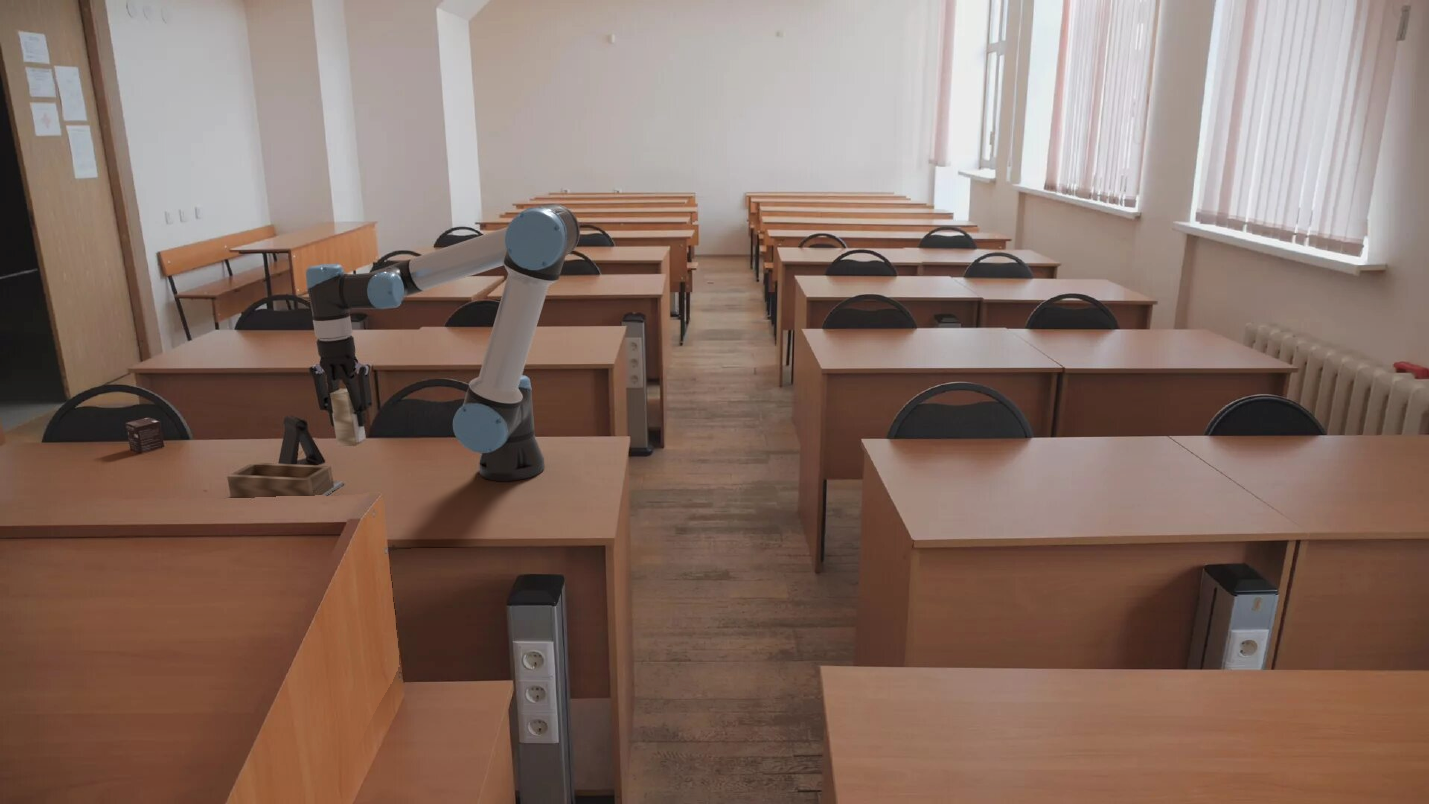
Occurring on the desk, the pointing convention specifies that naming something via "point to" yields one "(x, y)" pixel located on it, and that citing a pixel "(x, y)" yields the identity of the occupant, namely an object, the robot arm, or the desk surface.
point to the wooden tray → (281, 480)
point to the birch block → (343, 418)
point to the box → (144, 435)
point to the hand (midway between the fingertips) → (351, 439)
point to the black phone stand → (290, 446)
